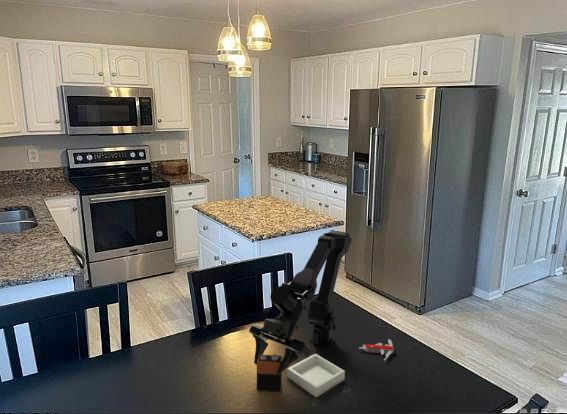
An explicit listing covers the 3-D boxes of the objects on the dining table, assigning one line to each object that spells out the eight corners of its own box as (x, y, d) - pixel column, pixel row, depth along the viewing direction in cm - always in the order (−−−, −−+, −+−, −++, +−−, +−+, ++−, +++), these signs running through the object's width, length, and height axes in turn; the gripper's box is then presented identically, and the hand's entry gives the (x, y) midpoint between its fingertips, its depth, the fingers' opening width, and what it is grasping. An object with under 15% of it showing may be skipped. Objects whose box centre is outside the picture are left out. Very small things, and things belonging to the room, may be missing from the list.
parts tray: (315, 362, 132) (315, 353, 131) (344, 379, 123) (344, 370, 122) (287, 377, 124) (287, 368, 123) (316, 397, 115) (316, 387, 115)
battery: (280, 392, 117) (280, 360, 115) (256, 391, 117) (256, 359, 115) (281, 383, 121) (282, 352, 119) (258, 381, 122) (258, 350, 120)
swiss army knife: (360, 362, 132) (360, 356, 132) (357, 339, 146) (357, 334, 145) (396, 365, 131) (397, 359, 131) (390, 341, 145) (391, 336, 144)
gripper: (252, 298, 123) (227, 348, 116) (306, 316, 112) (282, 372, 106) (268, 313, 131) (245, 360, 124) (319, 331, 120) (298, 384, 114)
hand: (266, 368), depth 117 cm, fingers closed on battery, 8 cm apart
